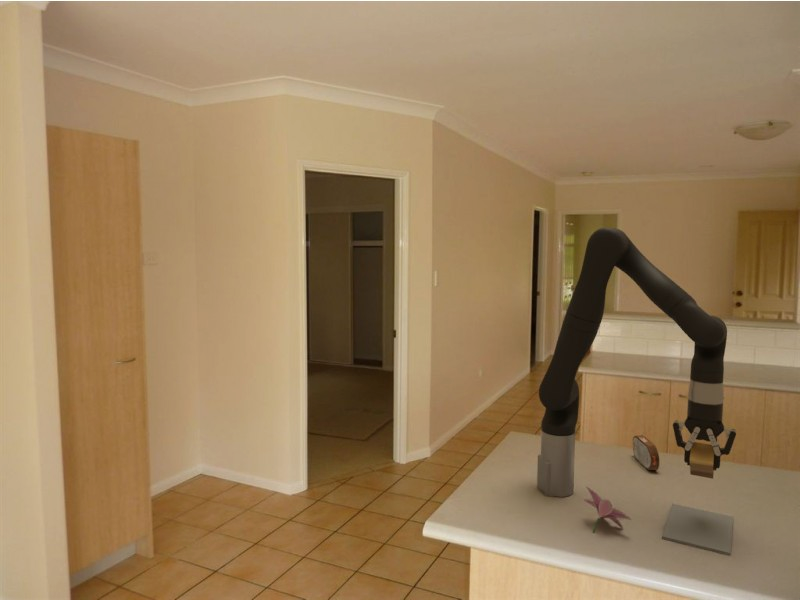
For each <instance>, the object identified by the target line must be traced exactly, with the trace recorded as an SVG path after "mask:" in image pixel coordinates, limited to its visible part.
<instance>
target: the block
mask: <svg viewBox="0 0 800 600" xmlns="http://www.w3.org/2000/svg"><path fill="white" fill-rule="evenodd" d="M714 453H715V452H714V449H713V447H712V445H711V443H710V444H708V443H705V442H704V443H703V442H696V441H694V443H693V445H692V447H691V452H690V466H689V472H690V475H692V476H696V477H697V476H698V477H702V478H706V479H713V480H714V472H715V470H713V464H714Z"/></svg>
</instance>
